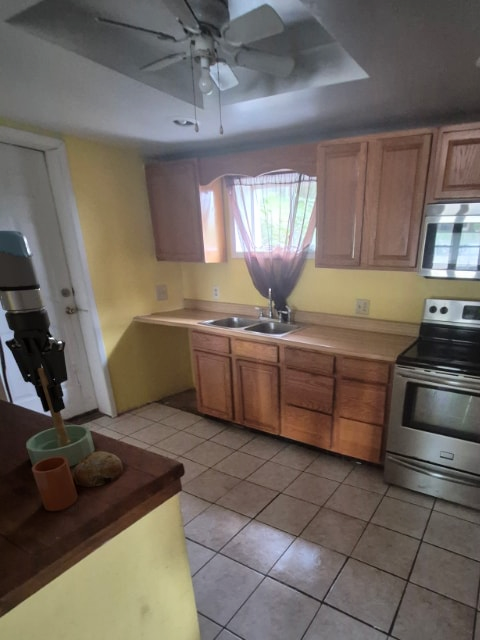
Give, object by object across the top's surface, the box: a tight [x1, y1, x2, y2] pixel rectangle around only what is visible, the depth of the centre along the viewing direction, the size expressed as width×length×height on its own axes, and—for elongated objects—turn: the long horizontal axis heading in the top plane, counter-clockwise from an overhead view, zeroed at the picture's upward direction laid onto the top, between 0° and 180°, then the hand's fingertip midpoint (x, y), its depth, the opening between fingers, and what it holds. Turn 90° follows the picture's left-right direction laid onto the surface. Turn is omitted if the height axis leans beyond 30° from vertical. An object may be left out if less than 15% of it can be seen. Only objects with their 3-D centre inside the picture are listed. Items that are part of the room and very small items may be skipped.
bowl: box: [25, 424, 95, 468], centre depth 94 cm, size 14×14×6 cm
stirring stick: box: [38, 367, 72, 448], centre depth 88 cm, size 3×2×22 cm, turn 81°
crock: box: [31, 456, 79, 512], centre depth 76 cm, size 6×6×10 cm
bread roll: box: [73, 451, 124, 488], centre depth 86 cm, size 10×10×8 cm
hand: (54, 409), depth 88 cm, fingers closed on stirring stick, 2 cm apart
